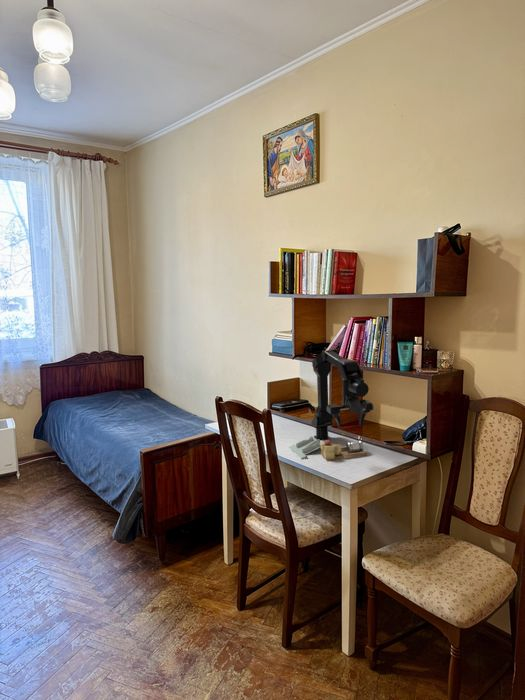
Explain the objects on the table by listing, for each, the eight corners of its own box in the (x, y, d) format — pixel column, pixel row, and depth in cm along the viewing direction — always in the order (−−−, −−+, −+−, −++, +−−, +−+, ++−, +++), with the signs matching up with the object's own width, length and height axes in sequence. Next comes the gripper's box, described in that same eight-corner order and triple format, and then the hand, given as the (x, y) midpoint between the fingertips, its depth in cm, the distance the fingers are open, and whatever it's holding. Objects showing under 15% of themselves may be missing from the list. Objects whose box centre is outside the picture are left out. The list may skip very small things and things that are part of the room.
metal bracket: (312, 432, 220) (325, 442, 206) (316, 443, 221) (329, 454, 207) (285, 444, 217) (296, 456, 203) (289, 455, 218) (300, 468, 204)
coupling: (346, 451, 208) (345, 440, 207) (358, 449, 209) (358, 438, 208) (350, 455, 203) (350, 444, 202) (363, 453, 204) (363, 442, 203)
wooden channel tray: (319, 454, 208) (318, 438, 207) (357, 448, 212) (357, 433, 210) (327, 462, 198) (327, 446, 197) (367, 456, 202) (367, 440, 201)
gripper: (335, 398, 187) (336, 436, 189) (379, 393, 190) (379, 430, 193) (325, 391, 197) (326, 427, 200) (367, 387, 201) (367, 422, 204)
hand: (350, 427), depth 199 cm, fingers open, 9 cm apart
